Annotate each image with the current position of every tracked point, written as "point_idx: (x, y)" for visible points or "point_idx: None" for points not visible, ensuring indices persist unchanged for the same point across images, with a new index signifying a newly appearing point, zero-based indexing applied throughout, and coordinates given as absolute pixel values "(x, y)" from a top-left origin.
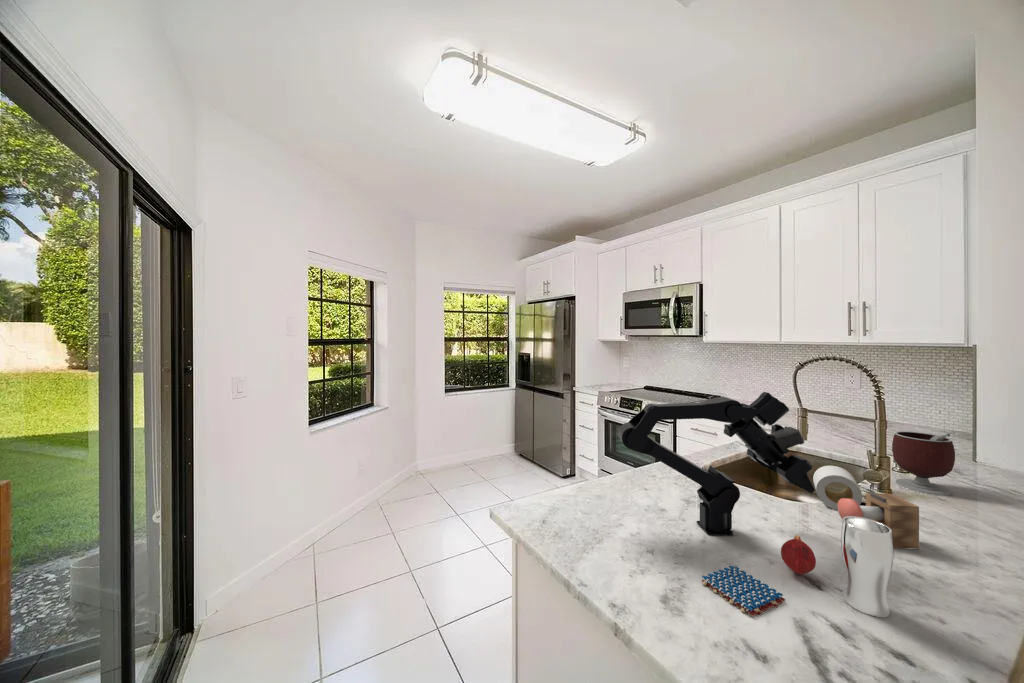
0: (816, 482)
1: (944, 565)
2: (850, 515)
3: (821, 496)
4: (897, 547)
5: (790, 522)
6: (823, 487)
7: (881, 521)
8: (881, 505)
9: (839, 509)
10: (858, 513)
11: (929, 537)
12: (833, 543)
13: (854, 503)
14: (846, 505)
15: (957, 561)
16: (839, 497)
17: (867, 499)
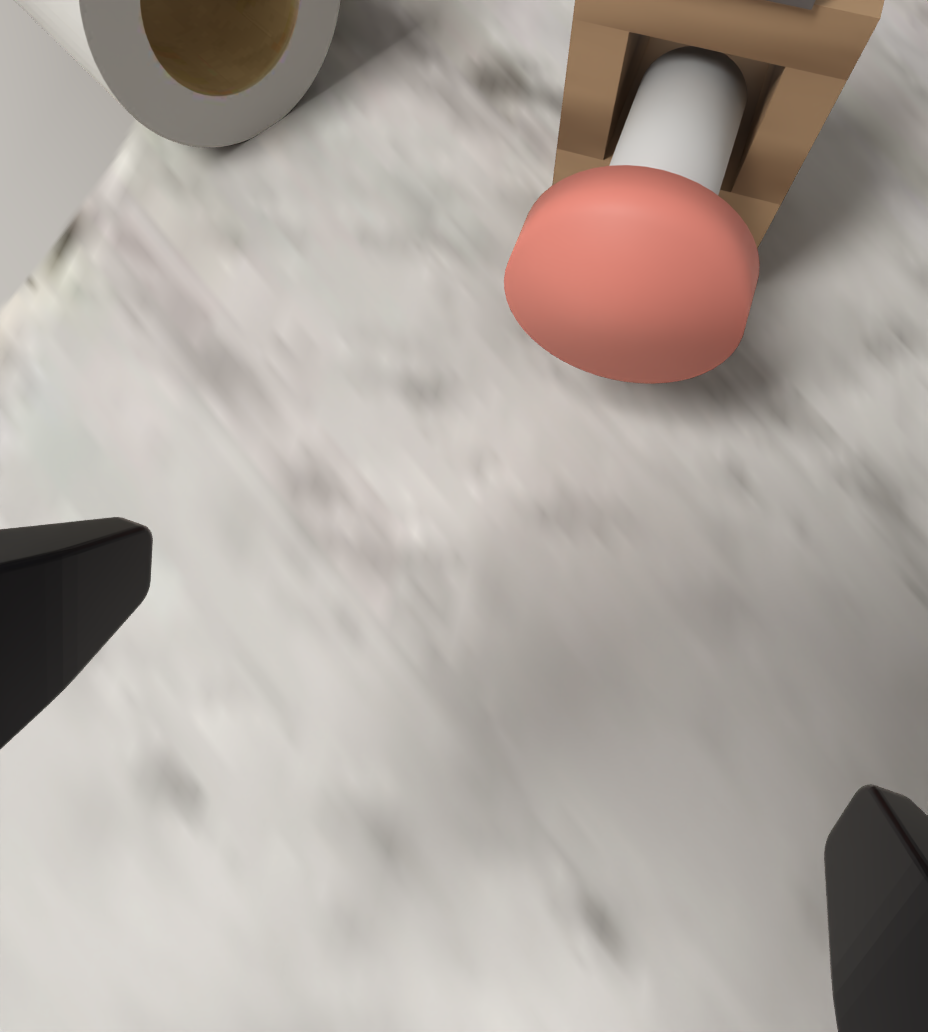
0: (54, 2)
1: (925, 226)
2: (663, 335)
3: (158, 110)
4: None
5: (294, 616)
6: (132, 26)
7: None
8: (756, 43)
9: (525, 300)
10: (751, 302)
11: None
12: (635, 601)
13: (716, 226)
14: (627, 271)
15: (887, 131)
16: (189, 5)
17: (591, 20)
